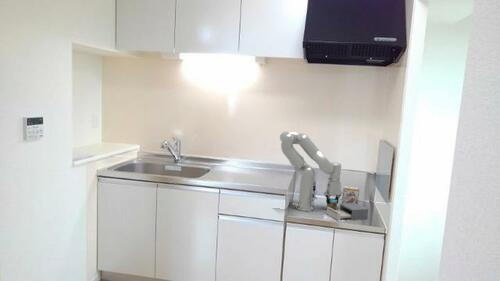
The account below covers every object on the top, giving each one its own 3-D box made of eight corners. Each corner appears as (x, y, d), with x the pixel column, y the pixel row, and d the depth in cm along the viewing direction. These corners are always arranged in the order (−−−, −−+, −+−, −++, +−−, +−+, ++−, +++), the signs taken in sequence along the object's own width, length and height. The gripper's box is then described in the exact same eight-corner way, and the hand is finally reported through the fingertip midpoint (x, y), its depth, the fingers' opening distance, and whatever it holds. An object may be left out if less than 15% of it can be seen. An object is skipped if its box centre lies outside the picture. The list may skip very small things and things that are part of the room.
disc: (330, 203, 236) (330, 200, 236) (325, 200, 243) (326, 198, 243) (338, 202, 238) (339, 200, 238) (333, 200, 245) (334, 198, 245)
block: (330, 210, 238) (331, 202, 237) (326, 208, 243) (327, 200, 242) (336, 210, 240) (337, 202, 239) (332, 208, 245) (333, 200, 244)
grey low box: (351, 220, 221) (353, 210, 220) (339, 213, 234) (340, 203, 233) (367, 218, 226) (368, 208, 225) (353, 212, 239) (354, 202, 238)
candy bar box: (341, 208, 244) (343, 187, 243) (341, 206, 249) (343, 185, 248) (357, 211, 242) (359, 189, 240) (356, 209, 247) (358, 187, 245)
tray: (338, 220, 217) (339, 213, 216) (326, 213, 230) (327, 206, 229) (354, 219, 222) (355, 212, 222) (342, 212, 235) (342, 205, 234)
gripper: (327, 181, 232) (325, 205, 234) (347, 180, 239) (345, 204, 241) (321, 178, 239) (319, 202, 241) (341, 178, 245) (338, 201, 247)
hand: (332, 202), depth 241 cm, fingers closed on disc, 6 cm apart
